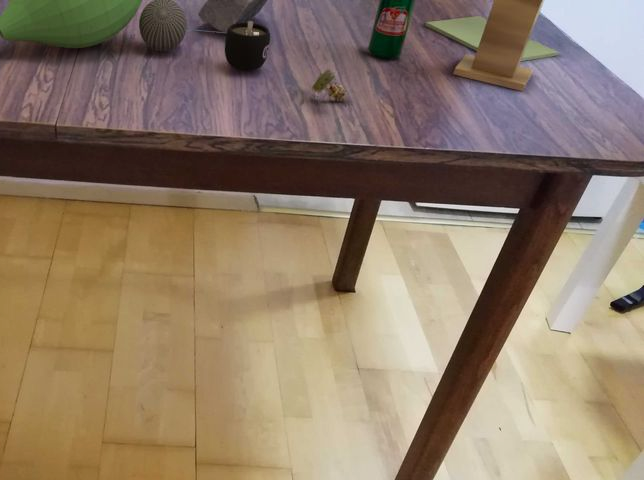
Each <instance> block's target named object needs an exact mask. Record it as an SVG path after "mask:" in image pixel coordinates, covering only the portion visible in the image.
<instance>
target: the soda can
mask: <svg viewBox="0 0 644 480" xmlns="http://www.w3.org/2000/svg"><path fill="white" fill-rule="evenodd" d="M415 3H416V0H379V1H378V4H377V5H378V6H377V9H376V14H375V17H374V21H373V26H372V31H371V33H370V34H371V35H370V39H369V42H368V43H369V44H368V47H367V49H368V52H369V54H370V55H371V56H372V57H374V58H377V59H380V60H387V61H389V60H395V59H397V58H399V57H400V56H401V55H402V53H403V48H404V44H405V40H406V37H407V33H408V30H409V27H410V22H411V18H412V14H413V12H414V11H413V10H414V7H415Z"/></svg>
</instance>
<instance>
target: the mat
mask: <svg viewBox="0 0 644 480" xmlns="http://www.w3.org/2000/svg"><path fill="white" fill-rule="evenodd" d="M487 20H488V18H487V19H486V18H484V17H483V16H480V15H477V16H476V15H475V16H468V17H459V18H452V19H441V20H434V21H426V22H425V27H427V28H429V29H431V30H433V31H435V32H437V33H439V34H440V35H443V36H445V37H448V38H449V39H451V40H453V41H455V42H457V43H459V44H461V45H463V46H465V47H466V48H469V49H471V50H473V51H475V52H477V49H478V46H479V43H480V40H481V37H482V34H483V31H484V29H485V26H486V23H487ZM558 55H559V51H557V50H555V49H553V48H551V47H548V46H546V45H544V44H542V43H539V42H538V41H536V40H534V39H533V40H532V39H531V38H530V39H529V41H528V44H527V47H526V49H525V52H524V54H523V57H522V60H521V62H524V61H531V60H539V59H544V58H545V59H546V58H550V57H556V56H558Z"/></svg>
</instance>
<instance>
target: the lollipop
mask: <svg viewBox="0 0 644 480" xmlns="http://www.w3.org/2000/svg"><path fill="white" fill-rule="evenodd" d="M138 29H139V33H140V36H141V39H142V41H143V42H144V43H145V45H146V46H148V47H149V48H150V49H152V50H154V51H156V52H169V51H172V50H174V49H175V48H177V47H178V46H180V44H181V43H182V42H183V40H184V38H185V36H186V32H189V31H191V29H190V28H188V27H187V18H186V15H185V13H184V10H183V8H182V7H181V6H180V5H178V3H176V2H175V1H173V0H152V1H150V2H149V3H148V4H146V6H145V7H144V8H143V9H142V11H141V13H140V16H139V21H138ZM194 31H195V32H202V30H201V29H194ZM205 32H206V33H207V32H208V33H214V31H211V30H205ZM217 33H219V34H225V32H221V31H217Z"/></svg>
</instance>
